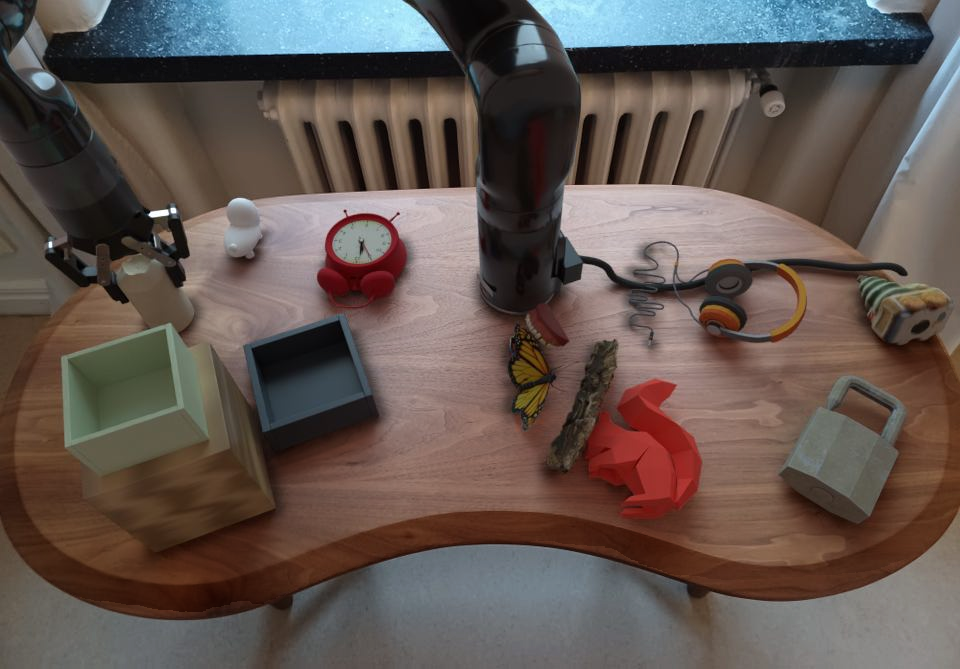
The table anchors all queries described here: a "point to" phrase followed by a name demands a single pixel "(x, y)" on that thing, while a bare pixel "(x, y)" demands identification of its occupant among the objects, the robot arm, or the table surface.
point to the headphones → (723, 312)
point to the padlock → (845, 454)
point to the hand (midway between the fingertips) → (153, 289)
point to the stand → (192, 472)
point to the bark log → (584, 408)
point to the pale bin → (131, 400)
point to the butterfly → (529, 377)
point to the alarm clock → (362, 257)
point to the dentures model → (543, 329)
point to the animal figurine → (646, 453)
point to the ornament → (904, 309)
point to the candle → (154, 293)
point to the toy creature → (242, 228)
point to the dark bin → (308, 382)
